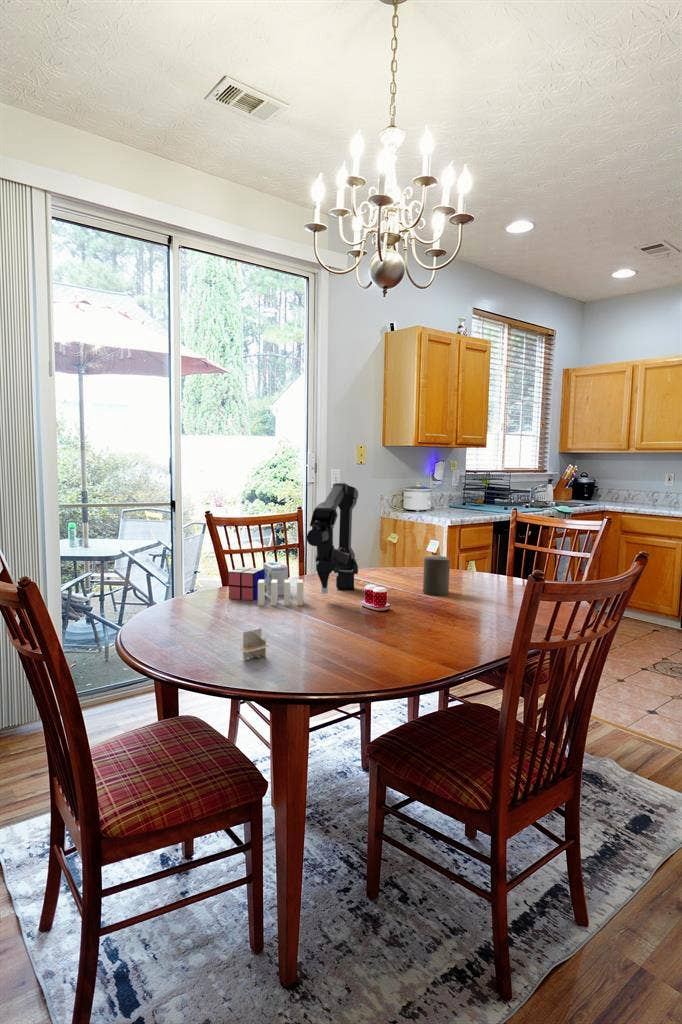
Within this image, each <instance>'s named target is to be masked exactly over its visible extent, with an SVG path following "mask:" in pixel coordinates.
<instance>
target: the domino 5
mask: <svg viewBox="0 0 682 1024" xmlns="http://www.w3.org/2000/svg"><path fill="white" fill-rule="evenodd" d="M328 585H329V583H327V587H326V588H323V586H322V585H321V595H322V594H329V593H328V591H329V590H328Z"/></svg>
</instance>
